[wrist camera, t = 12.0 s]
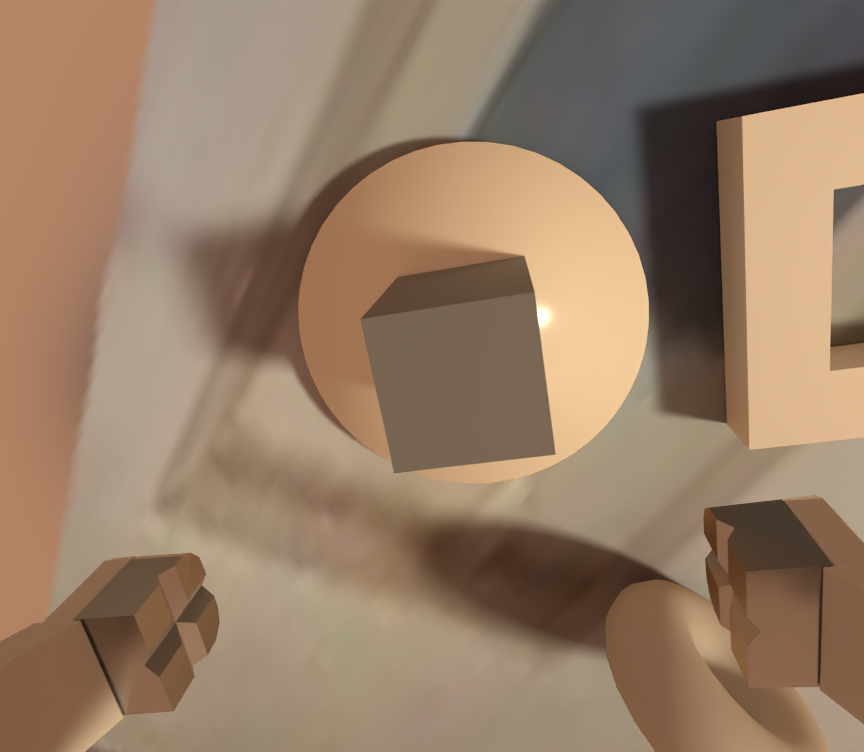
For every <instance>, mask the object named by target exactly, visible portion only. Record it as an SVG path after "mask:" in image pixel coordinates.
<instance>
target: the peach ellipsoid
mask: <svg viewBox="0 0 864 752" xmlns="http://www.w3.org/2000/svg"><path fill="white" fill-rule="evenodd" d="M521 256H525V259H526V263H527V266H528V270H529V273H530V277H531V281H532V284H533V288H534V291H535V298H536V306H537V314H538V322H539V329H540V337H541V345H542V353H543V360H544V368H545V376H546V383H547V391H548V399H549V407H550V414H551V422H552V430H553V437H554V445H555V453H556V455H549V456H540V457H531V458H522V459H514V460H505V461H496V462H488V463H479V464H470V465H462V466H453V467H444V468H436V469H427V470H418V471H411V472H413V473H417V474H420V475H423V476H426V477H430V478H434V479H439V480H445V481H450V482H462V483H488V482H498V481H504V480H510V479H515V478H519V477H522V476H526V475H529V474H532V473H536V472H538V471H540V470H543V469H545V468H547V467H550V466H552V465H554V464H556V463H558V462H559V461H561V460H563V459H565V458H566V457H568V456H570V455H571V454H573V453H575V452H576V451H577V450H578V449H580V448H581V447H582V446H584V445H585V444H586V443H588V442H589V441H590V440H591V439H592V438H593V437H594V436H595V435H596V434H597V433H598V432H600V431H601V430H602V429H603V428H604V427H605V426H606V424H607V423H608V422H609V421H610V419H611V418H612V417H613V416H614V414H615V413H616V412H617V411H618V409H619V408H620V406H621V405H622V403H623V401H624V400H625V398H626V396H627V395H628V393H629V391H630V390H631V387H632V385H633V383H634V380H635V378H636V376H637V373H638V371H639V369H640V365H641V362H642V358H643V355H644V351H645V347H646V341H647V333H648V326H649V300H648V293H647V286H646V279H645V275H644V272H643V268H642V265H641V261H640V258H639V255H638V252H637V250H636V248H635V246H634V244H633V241H632V239H631V237H630V235H629V233H628V231H627V230H626V228H625V226H624V225H623V223H622V222H621V220H620V219H619V217H618V215H617V214H616V212H615V211H614V210H613V209H612V208H611V207H610V205H609V204H608V203H607V202H606V201H605V200H604V198H603V197H602V196H601V195H600V194H599V193H598V192H597V191H596V190H595V189H593V188H592V187H591V186H590V185H589V184H588V183H587V182H585V181H584V180H583V179H582V178H581V177H579V176H578V175H576V174H575V173H573V172H572V171H570V170H569V169H567V168H566V167H564V166H562V165H561V164H559V163H557V162H555V161H553V160H551V159H548V158H546V157H544V156H542V155H540V154H538V153H535V152H531V151H528V150H525V149H522V148H518V147H515V146H510V145H504V144H498V143H491V142H456V143H448V144H440V145H435V146H432V147H428V148H424V149H420V150H417V151H413V152H411V153H409V154H406V155H404V156H402V157H399V158H397V159H395V160H392V161H390V162H389V163H387V164H385V165H384V166H382V167H380V168H379V169H377V170H375V171H374V172H372V173H370V174H369V175H368V176H367V177H366V178H364V179H363V180H362V181H361V182H359V183H358V184H357V185H356V186H354V187H353V188H352V189H351V190H350V191H349V192H348V193H347V194H346V195H345V196H344V198H343V199H342V200H341V201H340V202H339V203H338V204H337V205H336V206H335V208H334V209H333V210H332V212H331V213H330V215H329V216H328V218H327V219H326V220H325V222H324V223H323V225H322V227H321V228H320V230H319V232H318V234H317V236H316V238H315V240H314V242H313V244H312V246H311V249H310V252H309V255H308V257H307V260H306V263H305V266H304V270H303V275H302V280H301V284H300V291H299V304H298V318H299V333H300V338H301V344H302V349H303V354H304V357H305V360H306V363H307V366H308V369H309V372H310V375H311V377H312V379H313V381H314V383H315V385H316V387H317V389H318V392H319V393H320V395H321V397H322V398H323V400H324V401H325V403H326V404H327V406H328V408H329V409H330V411H331V412H332V413H333V414H334V416H335V417H336V418H337V419H338V420H339V422H340V423H341V424H342V425H343V426H344V427H345V428H346V429H347V430H348V431H349V432H350V433H351V434H352V435H353V436H354V437H355V438H356V439H357V440H358V441H359V442H361V443H362V444H363V445H365V446H366V447H367V448H369V449H370V450H371V451H373V452H374V453H375V454H377V455H379V456H380V457H382V458H384V459H386V460H387V461H389V462H391V463H392V461H391V456H390V451H389V447H388V442H387V438H386V433H385V429H384V424H383V420H382V415H381V411H380V406H379V402H378V397H377V393H376V388H375V384H374V379H373V375H372V370H371V366H370V361H369V356H368V352H367V347H366V343H365V338H364V334H363V329H362V325H361V320H360V319H361V318H362V317H363V315H364V314H365V313H366V312H367V311H368V310H369V309H370V308H371V306H372V305H373V304H374V303H375V302H376V301H377V300H378V299H379V297H380V296H381V295H382V294H383V293H384V292H385V291H386V289H387V288H388V287H389V286H390V285H391V284H392V283H393V282H394V280H395V279H396V278H397V277H400V276H406V275H412V274H418V273H424V272H430V271H436V270H442V269H448V268H454V267H460V266H466V265H472V264H478V263H484V262H490V261H496V260H502V259H509V258H515V257H521Z"/></svg>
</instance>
